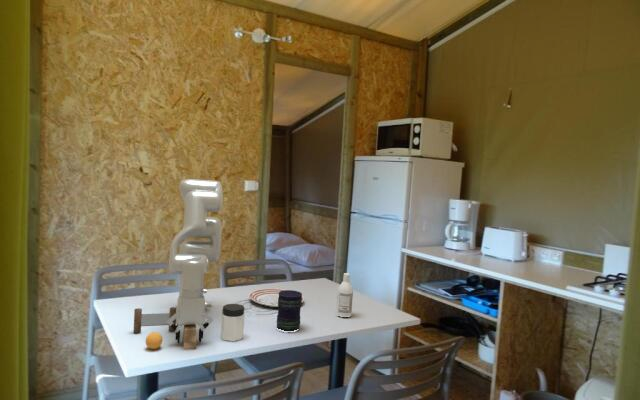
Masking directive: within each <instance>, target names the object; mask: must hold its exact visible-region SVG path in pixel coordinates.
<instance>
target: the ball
mask: <svg viewBox="0 0 640 400" xmlns="http://www.w3.org/2000/svg"><path fill="white" fill-rule="evenodd" d="M145 344H146V346H147V348H149V349H152V350H157V349H158V348H160V347H161V345H162V344H163V337H162V335H161V334H160V333H158V332H152V333H149V334H148V335H147V337H146V338H145Z"/></svg>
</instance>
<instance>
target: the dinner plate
mask: <svg viewBox="0 0 640 400" xmlns="http://www.w3.org/2000/svg"><path fill="white" fill-rule="evenodd" d="M284 290H285V289H283V288H282V289H281V288H261V289H256V290H253V291H251V292H250V293H249V294H248V298H249V299H250V300H251V301H253V302H254V303H256V304H258V305H261V306H263V305H265V306H264V307H267V306H271V307H270V308H274V307H278V305H268V304H263V303H260V302H259V301H258V300H259V299H260V298H263V297H265V296H268V295H279V292H280V291H284ZM304 301H305V298H304V296H303V295H302V303H304Z"/></svg>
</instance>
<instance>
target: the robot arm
mask: <svg viewBox="0 0 640 400" xmlns="http://www.w3.org/2000/svg"><path fill="white" fill-rule="evenodd" d="M179 193H180V196H181V199H182V200H183V205H184V212H183V213H184V214H183V215H184V216H183V227H182V229H181V230H180V231H179V232H178V233H177V234H176V235H175V236H174V238H173V240H172V241H171V243H170V249H169V256H168V261H169V262H168V269H169V271H170V273H172V274H173V275H179V289H178V290H179V292H178V293H179V294H178V297H177V303H176V306H175V307H176V313H175V314H174V315H173V316H172V317H170V318H169V319H168V320H167V323H168V324H169V325H170V326H171V327H172V328H173V329H174V330H175V332H174V333H175V341H177V344H179V343H180V342H181V328H182V326H184V325H196V326H197V325H198V326H199V329H198V342H200V343H201V342H202V339H204V331H205V330H206V329H207V328H208V327H209V325H211V324H212V322H213V321H214V319H213V317H212V316H211V315H209V314H208V313H207V312H206V308H207V307H208V308H209V307H212V306H213V305H212V302H211V301H210V302H209V301H208V300H207V301H206V299H205V295H204V294H207V293H208V291H207V289H205V288H204V278H205V277H204V274H206V272H207V271H208V269H209V266H210V263H216V262H218V261H219V259H220V255H221V245H222V222H221V220H220V218H218V217H215V216H207V215H208V213H209V212H210V213H219V212H221V210H222V208H223V203H224V194H223V186H222V183H221V182H220V181H218V180H212V179H211V180H208V179H197V178H196V179H195V178H188V179H183V180H181V181H180V182H179ZM190 238H191V239H190ZM186 239H189V240H186ZM192 239H193V240H192ZM194 239H196V240H194ZM200 239H208V240H200ZM178 250H179V252H178ZM175 319H176V325H175V324H174V323H173V322H172V321H173V320H175ZM206 320H207V321H206ZM169 325H168V326H169Z"/></svg>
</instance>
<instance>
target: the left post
mask: <svg viewBox="0 0 640 400" xmlns="http://www.w3.org/2000/svg"><path fill="white" fill-rule="evenodd" d="M142 312H143V309H142V308H139V307H138V308H134V312H133V314H134V315H133V316H134V317H133V334H134V335H139V334H141V333H142V326H141V318H142V314H143V313H142Z"/></svg>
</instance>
